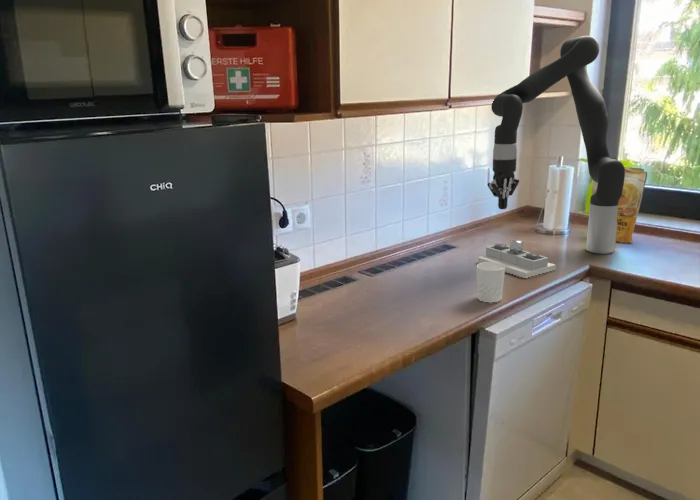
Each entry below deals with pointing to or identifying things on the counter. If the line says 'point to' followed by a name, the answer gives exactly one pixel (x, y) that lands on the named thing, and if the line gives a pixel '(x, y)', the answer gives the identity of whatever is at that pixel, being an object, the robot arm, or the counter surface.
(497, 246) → the charcoal knob
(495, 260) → the panel
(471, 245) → the counter surface
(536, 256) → the charcoal knob
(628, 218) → the pancake mix bag
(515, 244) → the steel knob
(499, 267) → the white cup
